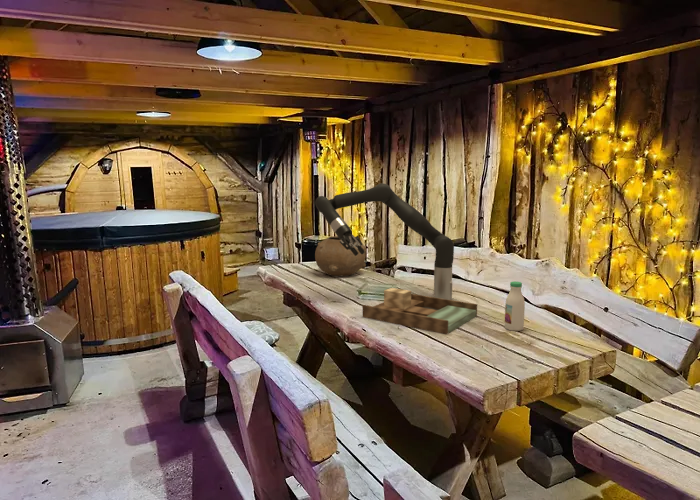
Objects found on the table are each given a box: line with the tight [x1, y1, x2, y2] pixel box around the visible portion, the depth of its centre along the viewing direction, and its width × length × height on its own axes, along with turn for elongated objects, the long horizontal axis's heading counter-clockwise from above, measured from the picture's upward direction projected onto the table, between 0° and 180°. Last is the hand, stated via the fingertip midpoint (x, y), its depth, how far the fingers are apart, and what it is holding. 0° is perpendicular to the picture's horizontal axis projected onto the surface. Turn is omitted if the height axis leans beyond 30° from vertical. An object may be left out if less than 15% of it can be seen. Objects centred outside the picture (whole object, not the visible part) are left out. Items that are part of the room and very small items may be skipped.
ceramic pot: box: [314, 235, 367, 277], centre depth 313 cm, size 33×34×25 cm
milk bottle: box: [504, 280, 526, 332], centre depth 199 cm, size 8×8×20 cm
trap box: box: [362, 293, 478, 335], centre depth 218 cm, size 42×32×6 cm
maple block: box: [383, 287, 412, 309], centre depth 224 cm, size 11×6×8 cm, turn 54°
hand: (360, 253), depth 234 cm, fingers open, 5 cm apart
